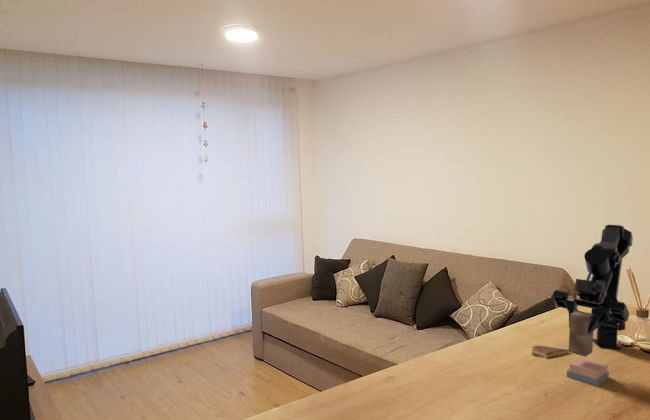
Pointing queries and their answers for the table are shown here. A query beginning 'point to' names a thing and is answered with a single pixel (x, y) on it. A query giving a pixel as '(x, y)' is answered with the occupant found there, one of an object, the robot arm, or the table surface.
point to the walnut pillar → (580, 333)
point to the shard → (547, 351)
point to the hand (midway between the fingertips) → (579, 330)
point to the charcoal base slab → (587, 379)
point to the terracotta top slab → (588, 368)
